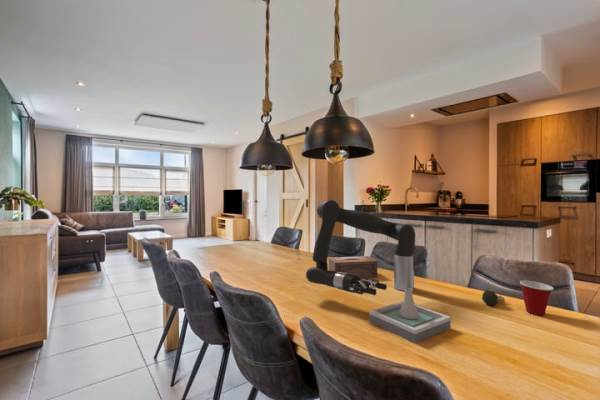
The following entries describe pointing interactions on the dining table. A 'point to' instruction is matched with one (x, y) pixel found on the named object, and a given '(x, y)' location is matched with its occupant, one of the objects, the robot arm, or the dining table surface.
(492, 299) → the figurine
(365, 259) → the tissue box cover
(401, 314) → the flask
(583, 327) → the dining table surface
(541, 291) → the plastic cup
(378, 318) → the grey square tray
